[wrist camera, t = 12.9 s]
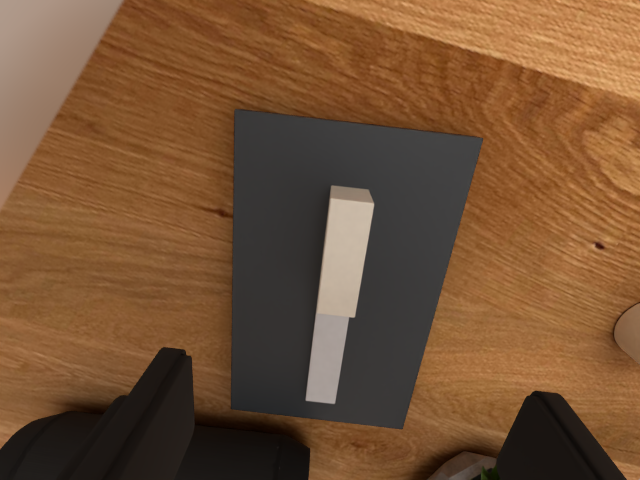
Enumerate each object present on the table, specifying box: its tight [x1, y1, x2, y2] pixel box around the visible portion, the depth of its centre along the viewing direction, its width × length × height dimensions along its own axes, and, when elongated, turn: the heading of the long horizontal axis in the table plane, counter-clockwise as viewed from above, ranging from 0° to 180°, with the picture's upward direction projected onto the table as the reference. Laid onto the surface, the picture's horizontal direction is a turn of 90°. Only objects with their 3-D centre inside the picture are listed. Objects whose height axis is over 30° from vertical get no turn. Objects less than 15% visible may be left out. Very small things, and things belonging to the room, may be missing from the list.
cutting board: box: [231, 109, 483, 429], centre depth 27 cm, size 16×26×2 cm, turn 174°
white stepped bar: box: [305, 185, 374, 404], centre depth 25 cm, size 19×3×4 cm, turn 174°
